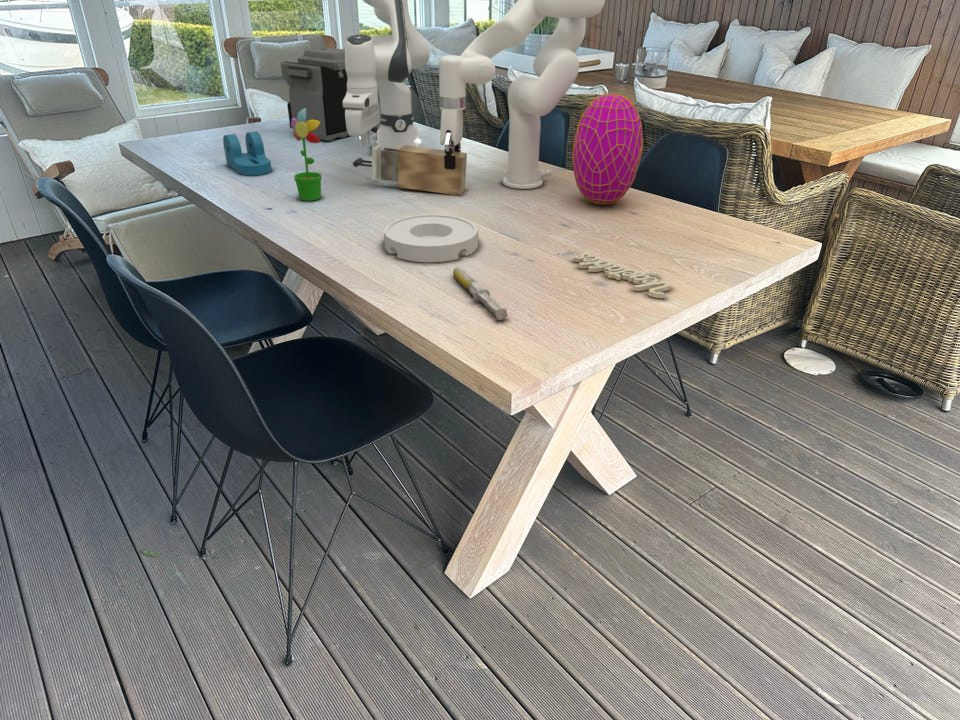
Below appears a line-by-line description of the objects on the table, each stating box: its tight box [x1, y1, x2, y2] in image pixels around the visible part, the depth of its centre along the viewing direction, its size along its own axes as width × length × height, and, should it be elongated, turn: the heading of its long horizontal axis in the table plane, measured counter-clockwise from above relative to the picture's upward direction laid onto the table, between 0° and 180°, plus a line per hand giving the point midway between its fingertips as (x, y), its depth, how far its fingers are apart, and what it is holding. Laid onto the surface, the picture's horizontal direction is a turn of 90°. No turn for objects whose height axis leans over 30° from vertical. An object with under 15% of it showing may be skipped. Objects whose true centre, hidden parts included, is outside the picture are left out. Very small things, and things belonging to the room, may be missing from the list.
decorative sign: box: [574, 252, 671, 299], centre depth 155 cm, size 26×1×10 cm
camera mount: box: [222, 131, 272, 176], centre depth 226 cm, size 18×10×10 cm, turn 35°
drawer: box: [352, 145, 399, 183], centre depth 209 cm, size 25×5×9 cm, turn 79°
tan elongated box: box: [397, 145, 468, 196], centre depth 207 cm, size 20×6×11 cm, turn 79°
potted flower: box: [291, 108, 323, 202], centre depth 196 cm, size 9×8×25 cm
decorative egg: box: [571, 92, 644, 205], centre depth 194 cm, size 19×19×30 cm
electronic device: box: [279, 47, 380, 142], centre depth 271 cm, size 37×22×30 cm, turn 144°
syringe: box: [452, 266, 509, 321], centre depth 145 cm, size 25×4×3 cm, turn 21°
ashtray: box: [383, 213, 479, 263], centre depth 170 cm, size 23×23×4 cm
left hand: (366, 144), depth 208 cm, fingers closed
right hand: (452, 165), depth 205 cm, fingers closed on tan elongated box, 6 cm apart
